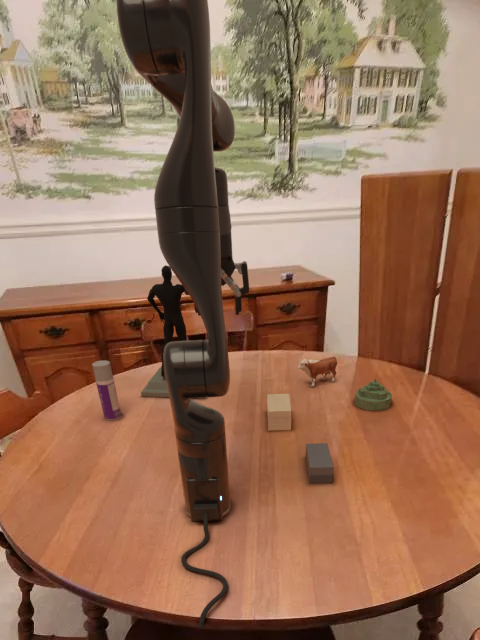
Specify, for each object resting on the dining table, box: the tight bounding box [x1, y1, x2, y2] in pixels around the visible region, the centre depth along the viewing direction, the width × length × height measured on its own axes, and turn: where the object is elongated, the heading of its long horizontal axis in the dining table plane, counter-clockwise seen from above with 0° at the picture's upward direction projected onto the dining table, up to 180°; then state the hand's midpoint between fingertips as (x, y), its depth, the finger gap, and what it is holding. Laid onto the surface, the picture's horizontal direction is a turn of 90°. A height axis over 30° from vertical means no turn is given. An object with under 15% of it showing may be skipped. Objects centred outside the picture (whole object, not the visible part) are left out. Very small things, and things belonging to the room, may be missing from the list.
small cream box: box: [266, 410, 292, 432], centre depth 130 cm, size 11×6×4 cm, turn 0°
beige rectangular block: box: [266, 393, 292, 419], centre depth 129 cm, size 11×6×2 cm, turn 0°
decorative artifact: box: [354, 378, 393, 412], centre depth 137 cm, size 10×7×10 cm
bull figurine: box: [297, 356, 338, 388], centre depth 149 cm, size 4×13×8 cm, turn 115°
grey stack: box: [304, 442, 334, 485], centre depth 110 cm, size 11×5×4 cm, turn 0°
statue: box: [140, 264, 205, 400], centre depth 142 cm, size 20×19×36 cm
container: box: [91, 359, 122, 422], centre depth 131 cm, size 5×5×15 cm
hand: (218, 314), depth 112 cm, fingers open, 8 cm apart
